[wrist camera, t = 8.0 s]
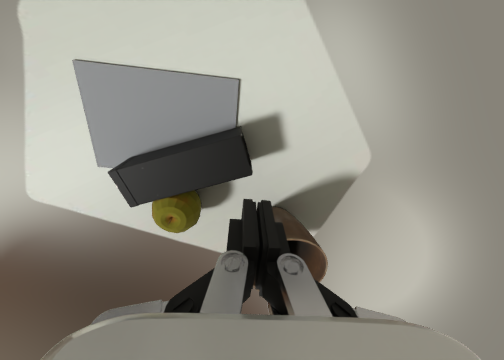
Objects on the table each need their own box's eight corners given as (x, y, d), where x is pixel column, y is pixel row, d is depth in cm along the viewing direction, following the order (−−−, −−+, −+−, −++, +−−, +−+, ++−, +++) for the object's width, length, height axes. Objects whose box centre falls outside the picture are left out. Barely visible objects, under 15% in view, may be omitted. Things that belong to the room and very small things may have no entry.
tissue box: (241, 134, 33) (90, 176, 35) (253, 175, 37) (115, 211, 39) (241, 125, 40) (115, 161, 42) (251, 160, 44) (134, 192, 46)
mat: (74, 60, 35) (72, 59, 35) (238, 79, 37) (238, 79, 37) (98, 166, 43) (97, 166, 43) (232, 176, 45) (232, 177, 45)
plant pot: (259, 185, 47) (266, 229, 32) (314, 203, 49) (343, 252, 35) (237, 232, 52) (235, 288, 38) (288, 246, 55) (304, 303, 41)
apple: (210, 208, 49) (201, 239, 39) (173, 217, 50) (155, 249, 40) (196, 172, 45) (182, 197, 35) (156, 182, 45) (131, 209, 36)
